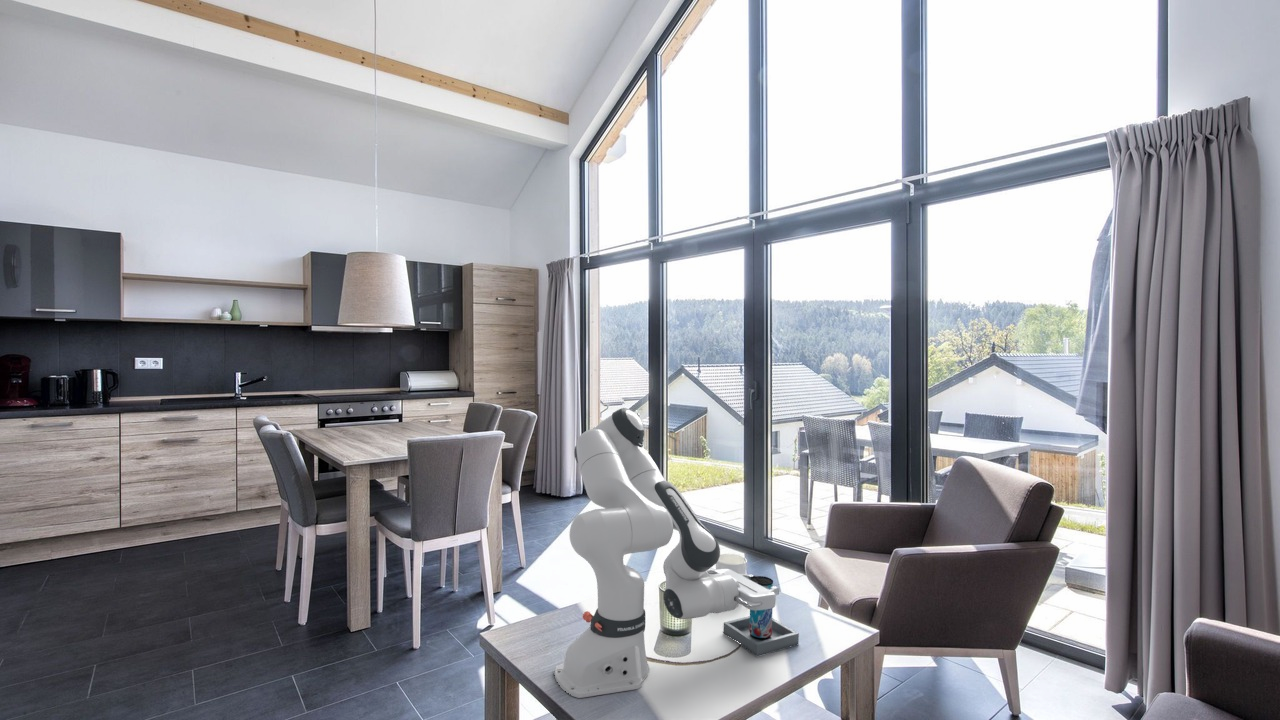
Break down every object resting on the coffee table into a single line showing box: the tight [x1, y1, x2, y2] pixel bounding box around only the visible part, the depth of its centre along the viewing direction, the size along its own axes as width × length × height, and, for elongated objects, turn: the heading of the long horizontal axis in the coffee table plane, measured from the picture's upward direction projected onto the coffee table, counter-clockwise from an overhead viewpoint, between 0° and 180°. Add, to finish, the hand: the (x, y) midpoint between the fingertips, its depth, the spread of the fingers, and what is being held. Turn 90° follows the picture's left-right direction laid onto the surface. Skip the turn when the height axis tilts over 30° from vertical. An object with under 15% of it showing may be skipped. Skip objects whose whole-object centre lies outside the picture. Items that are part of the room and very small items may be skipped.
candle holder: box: [715, 553, 748, 575], centre depth 191 cm, size 10×10×12 cm
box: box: [722, 615, 800, 657], centre depth 163 cm, size 14×14×3 cm
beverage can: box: [749, 575, 774, 640], centre depth 164 cm, size 6×6×15 cm
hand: (765, 583), depth 163 cm, fingers open, 8 cm apart
